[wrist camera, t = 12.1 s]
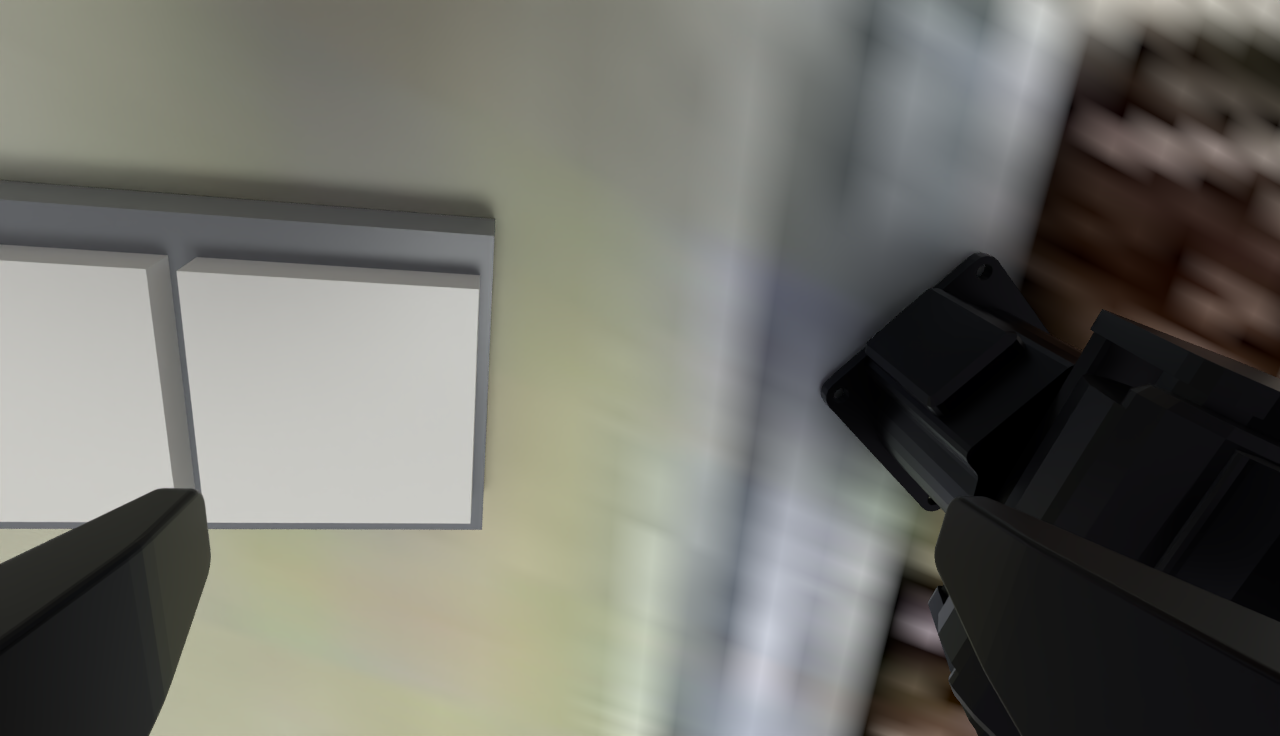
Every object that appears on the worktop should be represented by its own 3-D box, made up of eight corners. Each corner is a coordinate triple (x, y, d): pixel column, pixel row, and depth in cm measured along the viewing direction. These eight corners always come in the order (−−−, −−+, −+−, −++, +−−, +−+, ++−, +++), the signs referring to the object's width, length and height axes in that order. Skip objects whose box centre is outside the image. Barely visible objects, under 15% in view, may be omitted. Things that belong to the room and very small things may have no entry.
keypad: (495, 218, 20) (493, 248, 18) (483, 491, 24) (481, 555, 21) (-596, 133, 16) (-838, 153, 13) (-435, 481, 19) (-602, 559, 16)
